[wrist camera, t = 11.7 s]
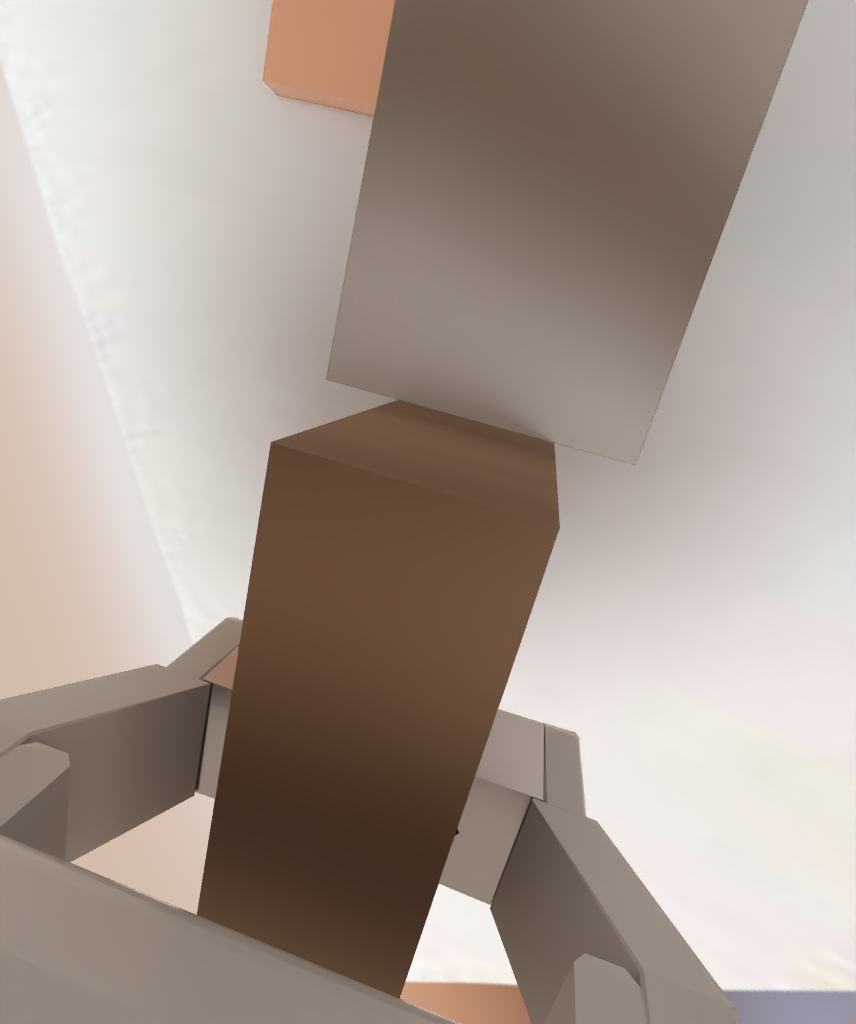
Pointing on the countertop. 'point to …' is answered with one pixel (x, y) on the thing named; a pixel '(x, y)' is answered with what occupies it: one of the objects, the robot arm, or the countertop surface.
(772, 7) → the turner
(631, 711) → the countertop surface
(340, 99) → the tile
